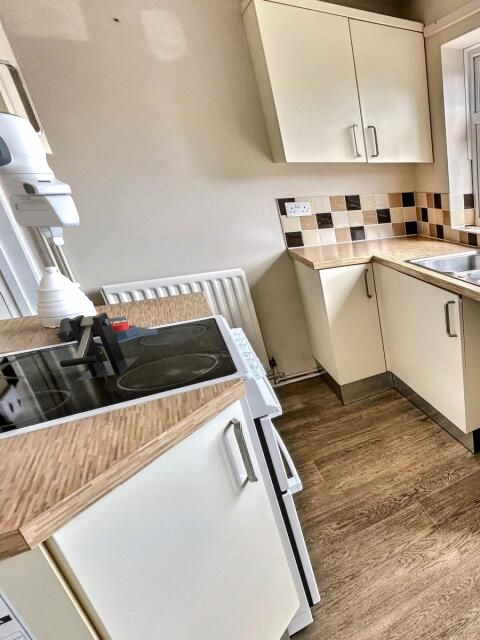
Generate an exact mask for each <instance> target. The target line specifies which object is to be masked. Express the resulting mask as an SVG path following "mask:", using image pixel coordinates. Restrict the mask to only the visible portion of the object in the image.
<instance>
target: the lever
mask: <svg viewBox="0 0 480 640" xmlns="http://www.w3.org/2000/svg"><path fill="white" fill-rule="evenodd" d="M95 316H96V315H95ZM95 316H86V317H83V319H82V322H81V325H80V326H81V327H82V328H83V330H84V333H83V336H82V339H81V342H80V346H79V345H78V349H77V352H76V356H75V357H74V358H69V359H68V358H67V359H61V360H60V361H59V366H60V367H61V368H67V367H68V368H69V367H75V366H82V365H87V364H89V363H96V362H98V357H97V356H89V357H86V354H87V350H88V347H89V344H90V340H91V337H92V334H93V332H97V329H96V327H95V324H94V322H93V319H92V318H93V317H95Z"/></svg>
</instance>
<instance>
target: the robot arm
mask: <svg viewBox="0 0 480 640" xmlns="http://www.w3.org/2000/svg"><path fill="white" fill-rule="evenodd" d="M0 178H1V180H2V182H3V184H4V186H5V189H6V191H7V194H8V195H9V197H8V202H9V205H10V208H11V212H12V214H13V217H14V219H15V221H16V223H17V224H18V225H19V226H20V227H28V228H29V227H30V228H31V227H33V228H35V227H36V228H37V227H38V229H39V231H40V233H41V234H42V236H44V238H45V239H46V241H47V243H48V245H50V246H63V245H65V241H64V239H63V229H62V228H71V227H79V226H80V216H79V214H78V210H77V207H76V204H75V202H74V199H73V198H72V196H71V194H72V189H71V186H70V185H69V184H67V183H65V182H63V181H61V180H59V179H58V178H56V176H55V174H54V171H53V170H52V169H51V168H50V166H49V164H48V161H47V153H46V151H45V148H44V146H43V144H42V141H41V139H40V137H39V135H38V133H37V131H36V130H35V128H34V127H33V125H32V123H30V121H28V120H27V119H26V118H24V117H22V116H20V115H17V114H14V113H11V112H6V111H1V110H0Z"/></svg>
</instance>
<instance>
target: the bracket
mask: <svg viewBox="0 0 480 640" xmlns="http://www.w3.org/2000/svg"><path fill="white" fill-rule="evenodd" d="M83 317H84V315H78V316H76V317H75V318H73V319H71V320H69V324H70V326H71V328H72V331H73V333H74V335H75V338H76V339H75V340H76V342H77V344H78V347H79V346H80V342H81V339H82V336H83V333H84V330H83V328H82V327H81V326H80V325H81V322H82V319H83ZM109 318H110V317H109V315H108V313H107V312H100V313H97V316H95V317H93V318H92V319H93V322H94V324H95V327H96V329H97V332H98V334H99V335H98V337H99V338H100V339H101V341H102V344H103V345H102V346H103V349H104V351H105V354H106V356H107V358H108V360H106V361H104V360H103V358H102V356H101V353H100V351H99V348H98V346H97V344H96V343H95V341H94V339H95V338H94V336H92V337H91V340H90V344H89V347H88V350H87V354H86V357H89V356H97V357H98V362H96V363H89V364H86V366H87V368H88V370H87V371H86V372H85V373H83V374H82V375H81V376H80V377H78V378H77V379H75V382H79V381H85V380H92V379H98V378H99V379H100V378H104V377H110V376H119V375H122V374H123V373H124V372H125V371H126V370H127V369H128V368H129V367H130V366H131V365H133V363H135V361H136V360H137V359H138V358H139V356H133V357H127V358H125V356H124V354H123V351H122V349H121V346H120V343H118V341H117V338H116V336H115V333H114V331H113V328H112V326H111V325H112V324H111V323H110V321H109Z"/></svg>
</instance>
